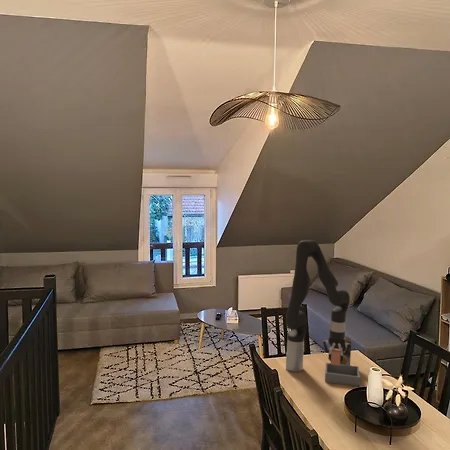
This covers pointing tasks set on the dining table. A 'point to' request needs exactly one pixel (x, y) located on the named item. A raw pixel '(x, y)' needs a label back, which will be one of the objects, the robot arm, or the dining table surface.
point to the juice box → (335, 357)
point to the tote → (342, 374)
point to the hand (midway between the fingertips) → (335, 360)
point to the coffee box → (347, 357)
